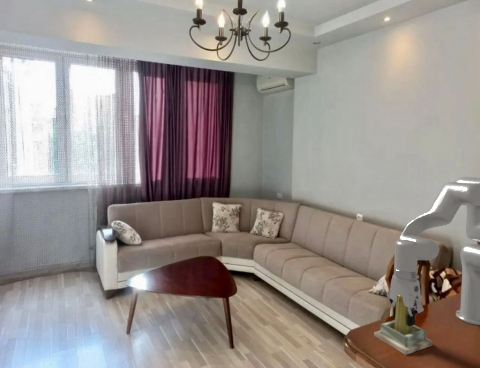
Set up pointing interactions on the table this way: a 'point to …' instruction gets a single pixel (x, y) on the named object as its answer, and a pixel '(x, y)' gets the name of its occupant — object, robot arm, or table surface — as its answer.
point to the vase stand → (403, 338)
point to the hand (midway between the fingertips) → (403, 320)
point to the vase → (401, 317)
